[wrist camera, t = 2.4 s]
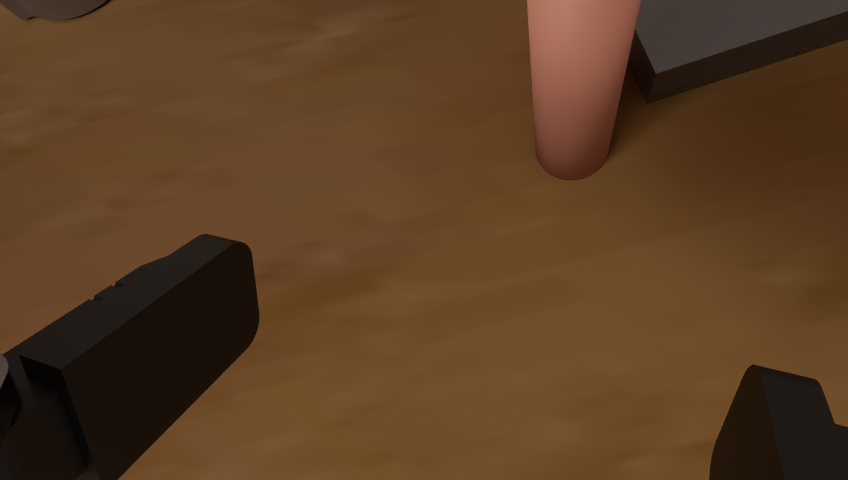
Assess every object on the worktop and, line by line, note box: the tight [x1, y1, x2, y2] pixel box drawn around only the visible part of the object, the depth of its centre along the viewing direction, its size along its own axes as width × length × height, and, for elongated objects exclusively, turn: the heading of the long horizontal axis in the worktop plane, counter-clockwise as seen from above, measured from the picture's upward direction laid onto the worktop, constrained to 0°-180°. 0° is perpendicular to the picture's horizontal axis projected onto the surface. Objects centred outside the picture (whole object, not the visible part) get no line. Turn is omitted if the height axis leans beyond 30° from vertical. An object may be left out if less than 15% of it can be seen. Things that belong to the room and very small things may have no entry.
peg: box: [527, 0, 641, 180], centre depth 22 cm, size 3×3×12 cm
